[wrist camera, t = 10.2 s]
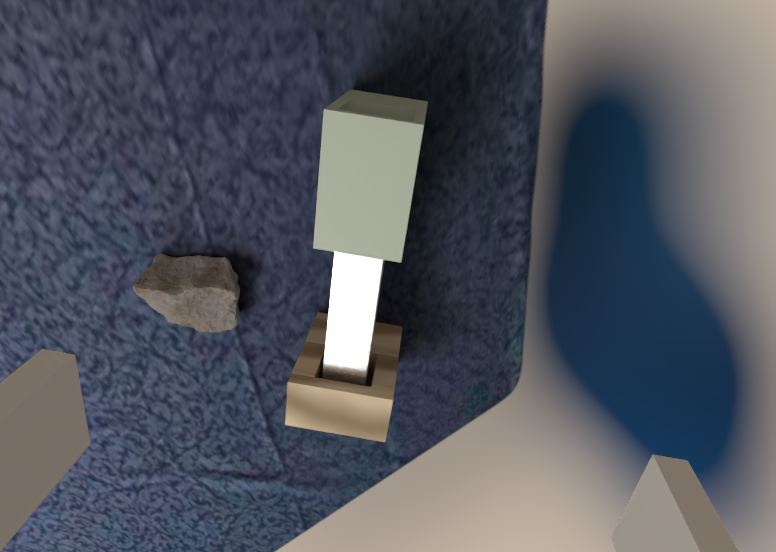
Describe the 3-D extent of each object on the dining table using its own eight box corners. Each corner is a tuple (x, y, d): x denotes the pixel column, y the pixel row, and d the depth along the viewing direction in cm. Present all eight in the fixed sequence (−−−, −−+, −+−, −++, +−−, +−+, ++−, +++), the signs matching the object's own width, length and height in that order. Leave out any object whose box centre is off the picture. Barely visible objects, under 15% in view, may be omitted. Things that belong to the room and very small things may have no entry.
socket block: (317, 312, 54) (287, 381, 43) (402, 326, 53) (392, 400, 43) (314, 349, 56) (285, 424, 45) (396, 363, 55) (385, 442, 45)
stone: (246, 325, 55) (224, 357, 50) (158, 303, 55) (127, 332, 50) (253, 260, 52) (231, 286, 46) (159, 236, 52) (126, 260, 46)
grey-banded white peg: (346, 197, 41) (337, 213, 38) (393, 204, 41) (389, 221, 38) (327, 374, 49) (319, 400, 46) (367, 381, 49) (361, 408, 46)
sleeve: (351, 89, 43) (323, 109, 33) (428, 101, 43) (423, 124, 33) (340, 201, 48) (313, 248, 38) (409, 212, 48) (401, 262, 38)
